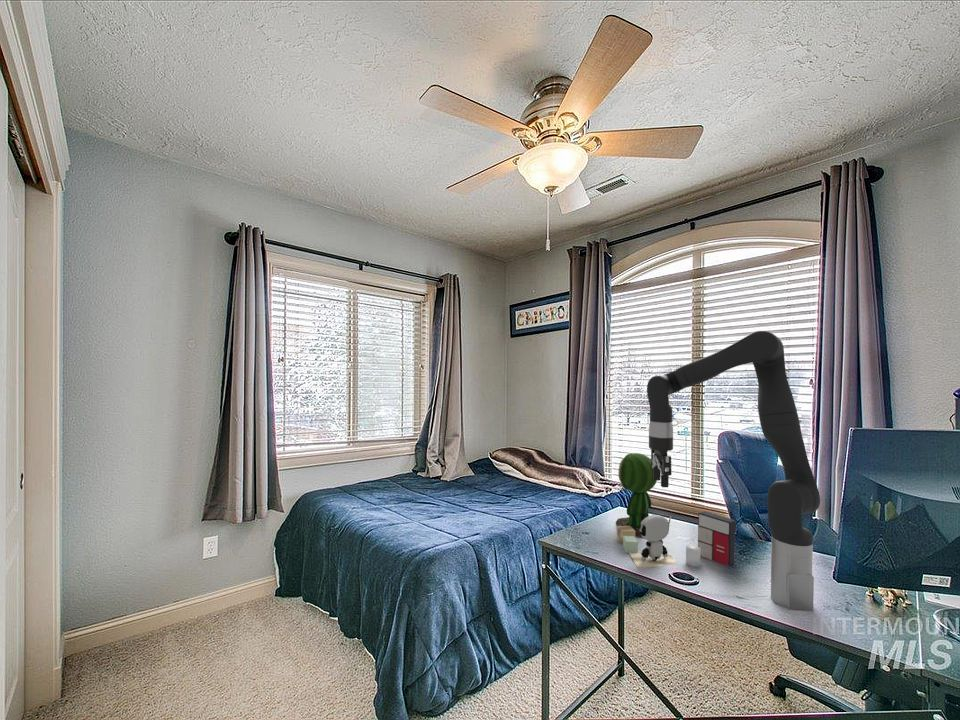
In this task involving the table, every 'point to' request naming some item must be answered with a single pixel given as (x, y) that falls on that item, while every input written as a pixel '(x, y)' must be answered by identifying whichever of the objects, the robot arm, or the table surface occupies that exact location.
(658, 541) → the robot toy
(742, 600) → the table surface
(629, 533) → the oak cube
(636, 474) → the figurine
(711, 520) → the grey red panel box
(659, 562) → the birch pad
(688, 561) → the white upright block
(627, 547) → the sage brick
